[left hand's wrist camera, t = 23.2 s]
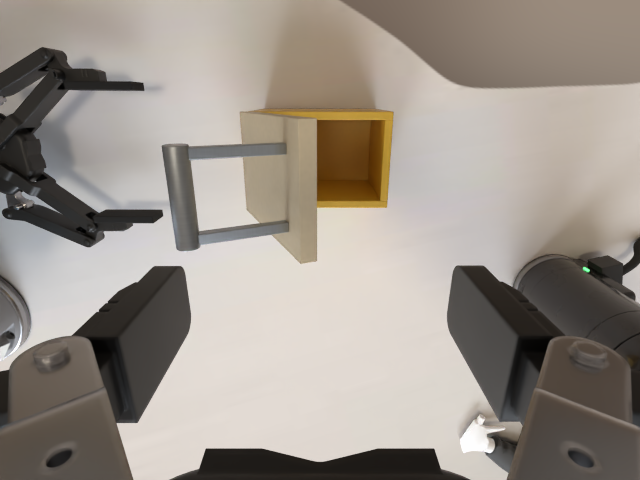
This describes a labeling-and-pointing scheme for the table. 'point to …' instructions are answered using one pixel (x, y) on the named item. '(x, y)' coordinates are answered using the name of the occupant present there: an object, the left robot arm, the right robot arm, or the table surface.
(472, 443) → the spray bottle
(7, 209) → the right robot arm
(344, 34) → the table surface
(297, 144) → the lid
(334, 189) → the yellow hollow box
